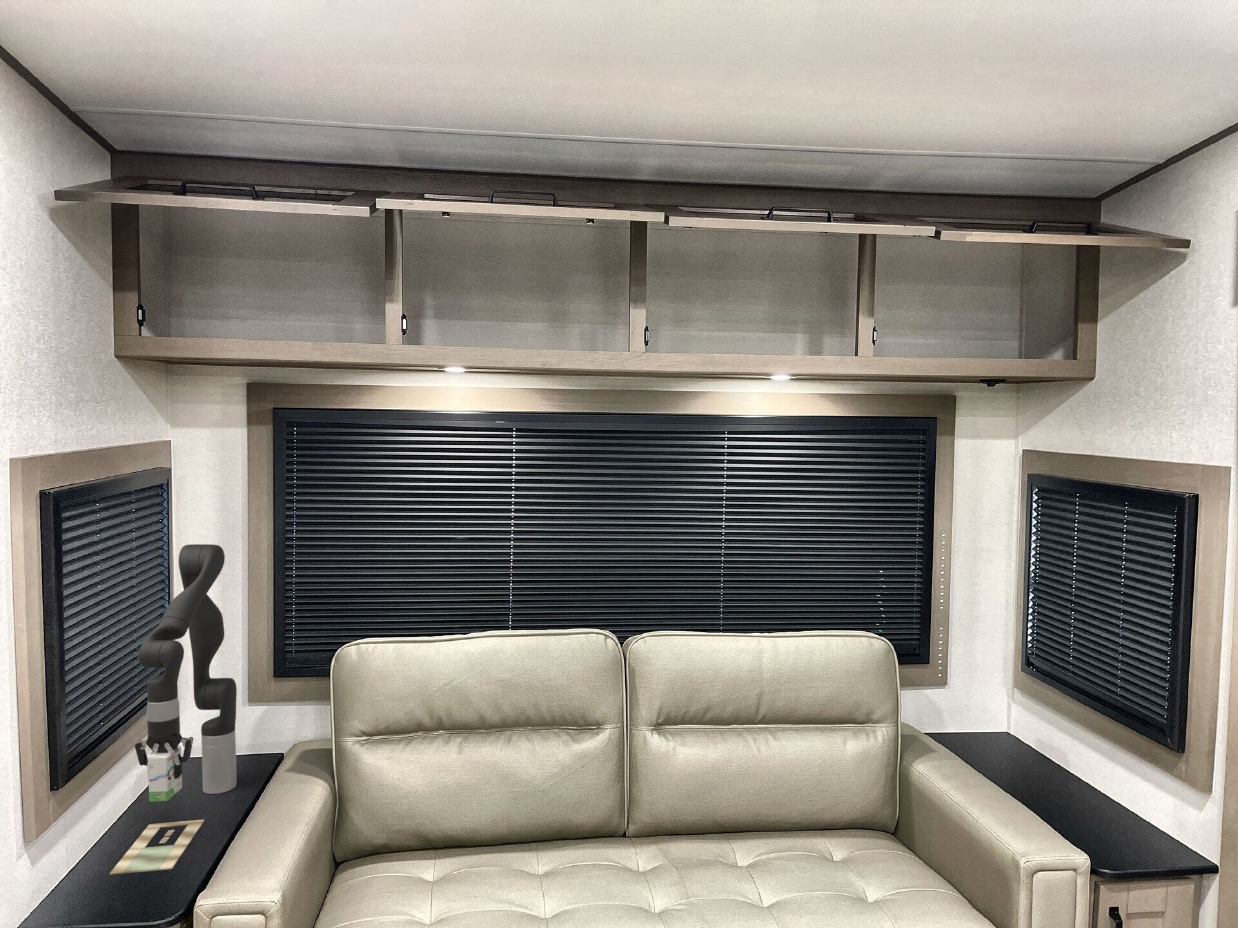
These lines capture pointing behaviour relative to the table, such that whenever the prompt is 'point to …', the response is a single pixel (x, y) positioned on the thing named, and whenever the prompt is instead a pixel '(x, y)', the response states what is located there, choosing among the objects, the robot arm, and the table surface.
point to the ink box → (162, 777)
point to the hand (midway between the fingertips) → (165, 778)
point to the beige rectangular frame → (156, 849)
